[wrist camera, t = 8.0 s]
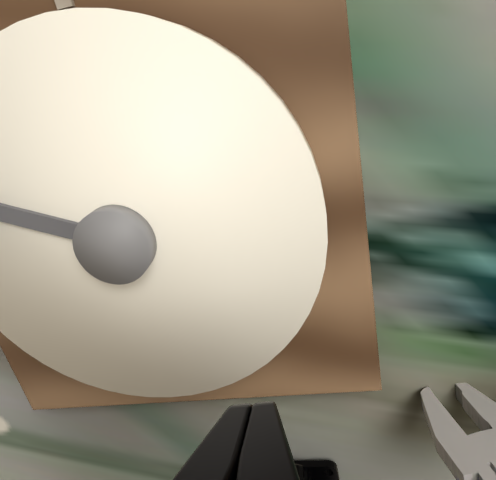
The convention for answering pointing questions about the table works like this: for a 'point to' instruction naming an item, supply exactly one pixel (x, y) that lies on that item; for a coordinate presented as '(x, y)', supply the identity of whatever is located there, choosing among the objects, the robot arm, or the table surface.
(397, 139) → the table surface
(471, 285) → the table surface
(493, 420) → the caliper
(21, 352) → the dial base
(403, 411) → the table surface
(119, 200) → the dial
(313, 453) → the table surface
